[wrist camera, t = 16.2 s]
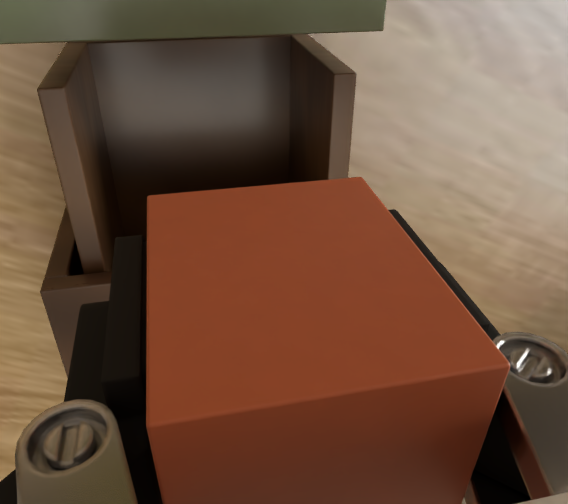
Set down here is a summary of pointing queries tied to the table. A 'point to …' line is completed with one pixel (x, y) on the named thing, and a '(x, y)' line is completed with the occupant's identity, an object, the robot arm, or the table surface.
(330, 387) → the block
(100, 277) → the cabinet
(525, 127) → the table surface
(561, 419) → the robot arm
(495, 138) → the table surface
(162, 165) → the drawer
